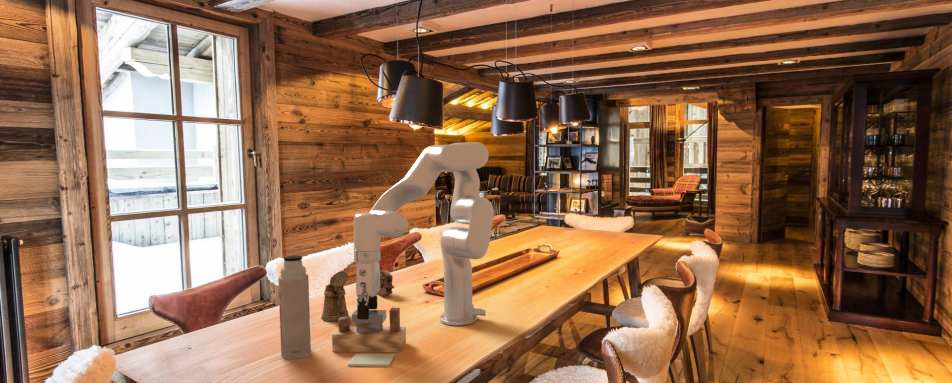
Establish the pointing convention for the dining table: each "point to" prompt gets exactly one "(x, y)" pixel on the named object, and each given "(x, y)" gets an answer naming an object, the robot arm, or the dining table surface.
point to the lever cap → (371, 317)
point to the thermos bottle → (294, 309)
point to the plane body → (370, 336)
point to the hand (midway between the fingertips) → (367, 313)
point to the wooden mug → (335, 298)
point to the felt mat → (371, 360)
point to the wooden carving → (385, 283)
